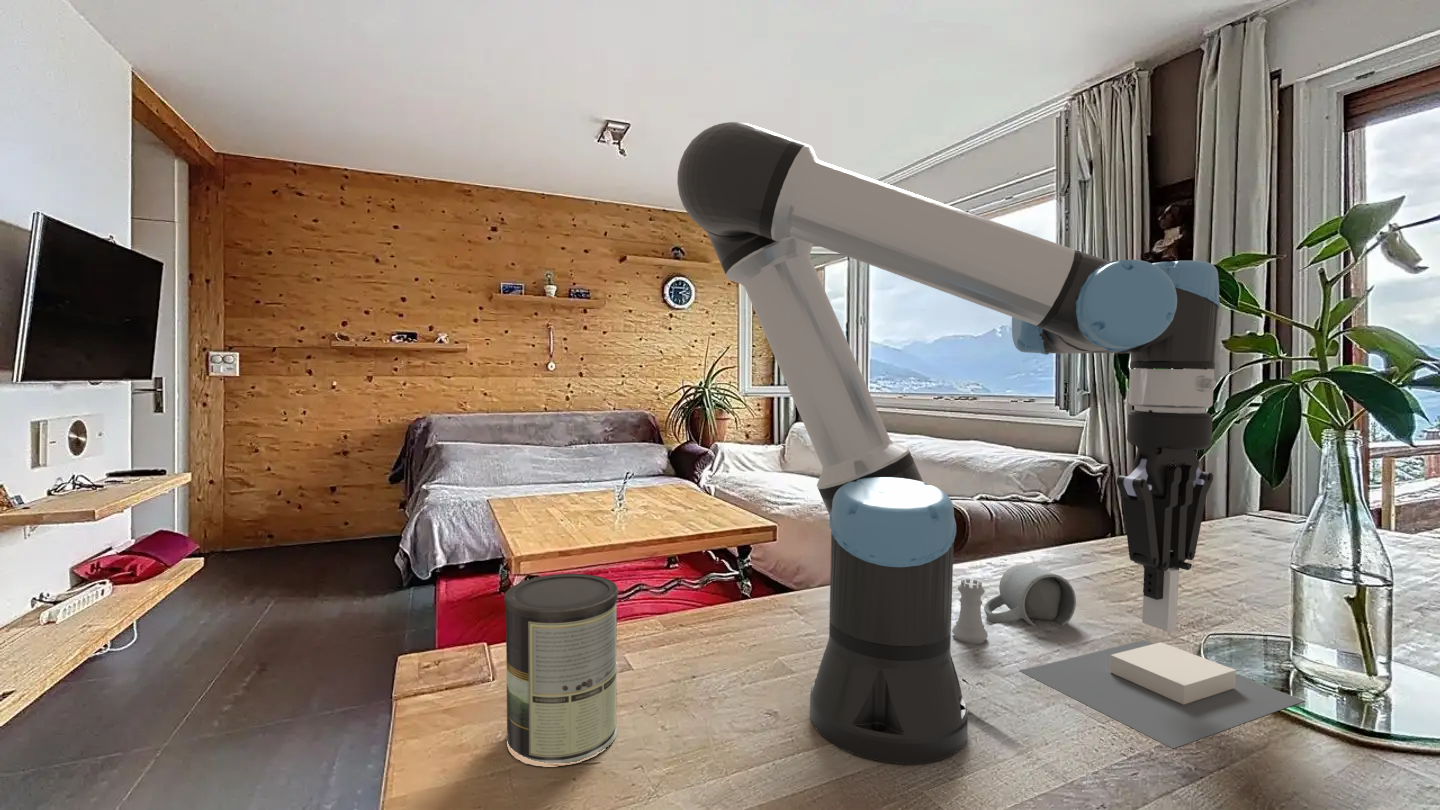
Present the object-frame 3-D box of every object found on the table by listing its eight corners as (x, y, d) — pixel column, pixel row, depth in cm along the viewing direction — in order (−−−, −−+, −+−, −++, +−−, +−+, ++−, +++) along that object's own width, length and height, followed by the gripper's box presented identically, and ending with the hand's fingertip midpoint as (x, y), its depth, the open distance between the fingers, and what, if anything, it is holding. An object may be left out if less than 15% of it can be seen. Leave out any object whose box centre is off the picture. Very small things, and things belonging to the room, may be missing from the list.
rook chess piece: (973, 653, 83) (975, 590, 82) (943, 641, 86) (945, 580, 86) (995, 645, 85) (997, 584, 85) (965, 634, 89) (967, 574, 88)
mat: (1172, 757, 61) (1173, 748, 61) (1019, 677, 76) (1019, 670, 76) (1304, 708, 70) (1304, 700, 70) (1143, 646, 86) (1143, 640, 85)
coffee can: (480, 753, 60) (479, 600, 60) (549, 701, 70) (549, 568, 69) (578, 780, 57) (578, 617, 56) (637, 721, 66) (637, 580, 65)
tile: (1184, 685, 69) (1236, 669, 72) (1110, 654, 76) (1161, 642, 80) (1183, 705, 69) (1234, 688, 73) (1109, 673, 76) (1160, 659, 80)
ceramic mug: (1042, 608, 99) (1043, 557, 98) (1076, 630, 91) (1078, 574, 90) (973, 611, 98) (973, 559, 97) (1001, 633, 90) (1002, 577, 89)
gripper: (1166, 413, 65) (1155, 649, 67) (1244, 410, 71) (1232, 629, 72) (1095, 408, 72) (1086, 622, 74) (1171, 406, 78) (1161, 606, 79)
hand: (1158, 625), depth 73 cm, fingers closed
